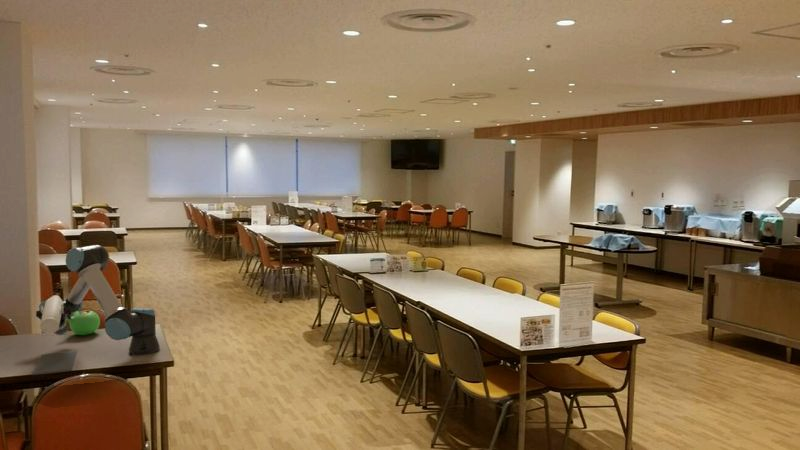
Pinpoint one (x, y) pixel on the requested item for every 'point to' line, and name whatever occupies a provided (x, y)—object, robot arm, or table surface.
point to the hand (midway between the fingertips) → (51, 307)
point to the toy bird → (84, 322)
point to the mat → (55, 363)
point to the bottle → (51, 315)
